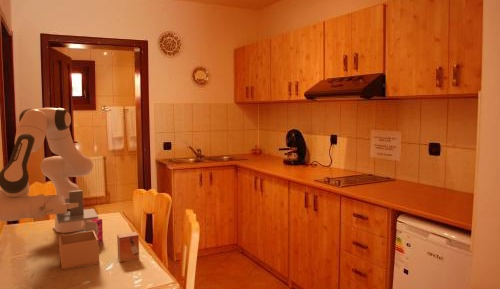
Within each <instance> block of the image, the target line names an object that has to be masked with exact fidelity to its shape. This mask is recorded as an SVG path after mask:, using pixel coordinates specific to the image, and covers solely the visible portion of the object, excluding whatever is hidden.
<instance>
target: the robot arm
mask: <svg viewBox="0 0 500 289" xmlns="http://www.w3.org/2000/svg"><path fill="white" fill-rule="evenodd" d="M18 121H19V124H18V126H17V128H16V132H15V137H14V147H13V149H12V152H11V155H10V158H9V160H8V162H7V164H6V165H5V166H4V167H3V168H2V169H1V170H0V222H13V221H21V220H22V219H23V220H24V219H38V218H45V217H46V215H47V216H49V215H51V216H52V215H54V225H53V226H52V230H54V231H55V232H56V233H63V234H66V233H67V234H68V233H76V232H79V231H85V221H87V220H82V221H75V222H67V223H60V224H58V220H57V214H63V213H66V212H69V211H70V209H71V208H74V207H78V206H79V204H78V202H73V203H70V202H69V191H75V190H81V189H80V186H78V184H76V183H74V182H73V181H71V179H70V178H75V177H77V178H78V177H79V178H80V177H85V176H89V175H90V174H91V173H92V171H93V168H94V163H93V161H92V159H91V158H90V157H89V156H87V155H85V154H83V153H82V152H81V151H79V149H78V147H76V144H75V143H74V140H73V138H72V134H71V131H70V126H71V124H72V117H71V113H70V112H69V111H68V110H67V109H66V108H62V107H58V108H56V107H41V108H37V107H36V108H27V109H24V110H22V111H21V113H20V114H19V117H18ZM45 139H46V140H47V143H48V144H47V145H48V147H49V150H50V151H51V152H52V153H53V154H55V155H53V156H48V157H45V158H43V160H42V161H41V163H40V170H41V171H40V172H41V173H42V174H43V175H44V177H47V178H48V179H49V180H50V181H51V182H52V184H53V185H54V189H55V193H56V194H46V195H45V194H43V193H41V194H37V195H29V193H30V182H29V178H30V177H29V173H28V172H29V171H28V163H29V161H30V158H31V155H32V153H35V152H37V151H39V150H40V149H41V148H42V145H44V142H45ZM84 204H85V200H84V199H83V205H84ZM83 209H84V210H85V209H86V208H83Z"/></svg>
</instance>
